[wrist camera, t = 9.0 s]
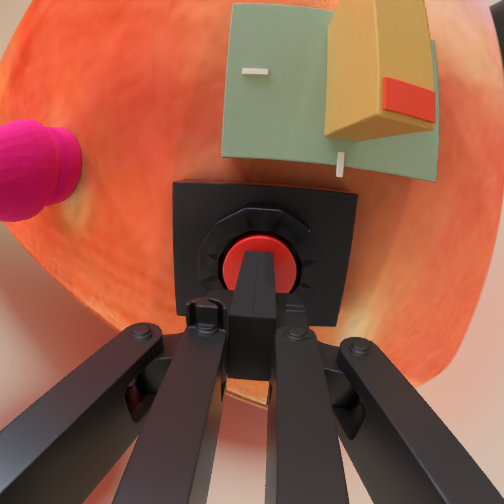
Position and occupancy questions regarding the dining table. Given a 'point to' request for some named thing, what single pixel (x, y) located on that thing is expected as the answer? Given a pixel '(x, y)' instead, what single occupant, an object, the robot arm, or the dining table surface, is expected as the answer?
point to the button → (263, 243)
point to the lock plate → (302, 98)
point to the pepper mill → (35, 168)
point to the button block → (263, 219)
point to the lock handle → (379, 70)
